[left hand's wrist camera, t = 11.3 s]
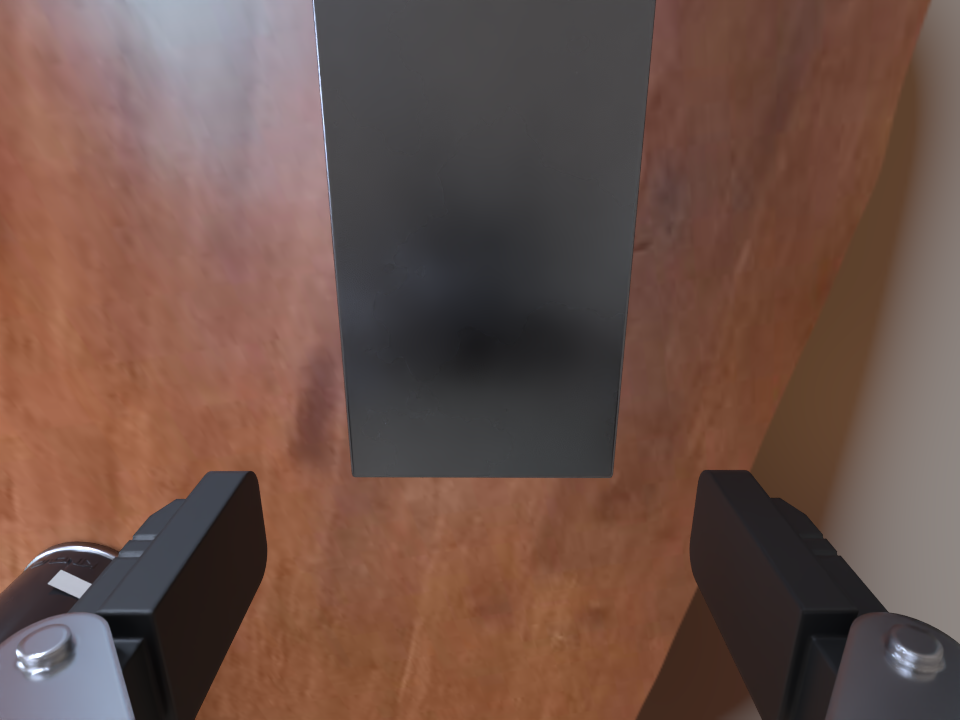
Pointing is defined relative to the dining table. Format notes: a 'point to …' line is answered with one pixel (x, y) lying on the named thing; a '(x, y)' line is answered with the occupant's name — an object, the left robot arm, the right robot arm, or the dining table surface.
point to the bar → (483, 227)
